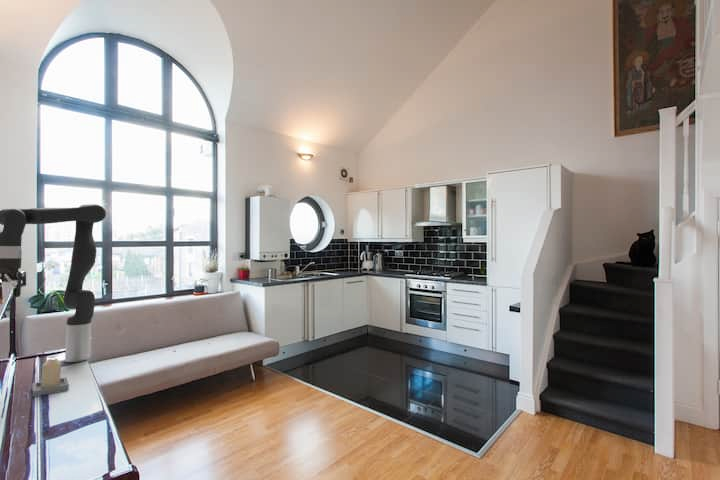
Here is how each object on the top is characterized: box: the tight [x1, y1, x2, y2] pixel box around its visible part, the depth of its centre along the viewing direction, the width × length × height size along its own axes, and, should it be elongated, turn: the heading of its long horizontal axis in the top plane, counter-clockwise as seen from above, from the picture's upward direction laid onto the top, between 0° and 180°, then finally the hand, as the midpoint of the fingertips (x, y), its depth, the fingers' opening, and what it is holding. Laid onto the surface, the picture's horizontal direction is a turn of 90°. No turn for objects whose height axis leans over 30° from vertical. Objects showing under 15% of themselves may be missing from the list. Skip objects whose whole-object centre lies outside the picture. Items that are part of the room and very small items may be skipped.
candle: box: [40, 358, 62, 389], centre depth 135 cm, size 6×6×10 cm
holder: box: [31, 376, 70, 398], centre depth 135 cm, size 10×10×2 cm
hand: (6, 296), depth 146 cm, fingers open, 8 cm apart
